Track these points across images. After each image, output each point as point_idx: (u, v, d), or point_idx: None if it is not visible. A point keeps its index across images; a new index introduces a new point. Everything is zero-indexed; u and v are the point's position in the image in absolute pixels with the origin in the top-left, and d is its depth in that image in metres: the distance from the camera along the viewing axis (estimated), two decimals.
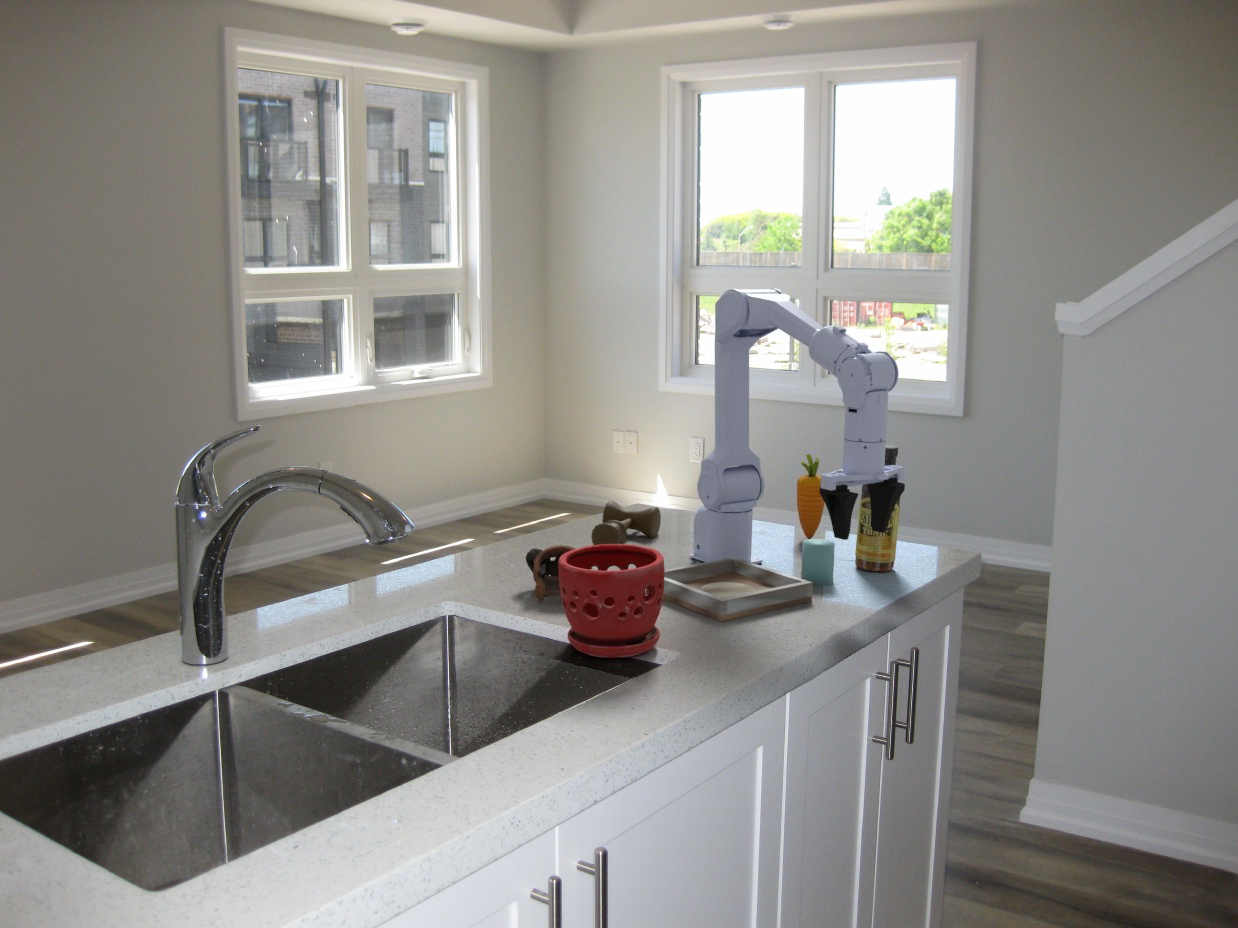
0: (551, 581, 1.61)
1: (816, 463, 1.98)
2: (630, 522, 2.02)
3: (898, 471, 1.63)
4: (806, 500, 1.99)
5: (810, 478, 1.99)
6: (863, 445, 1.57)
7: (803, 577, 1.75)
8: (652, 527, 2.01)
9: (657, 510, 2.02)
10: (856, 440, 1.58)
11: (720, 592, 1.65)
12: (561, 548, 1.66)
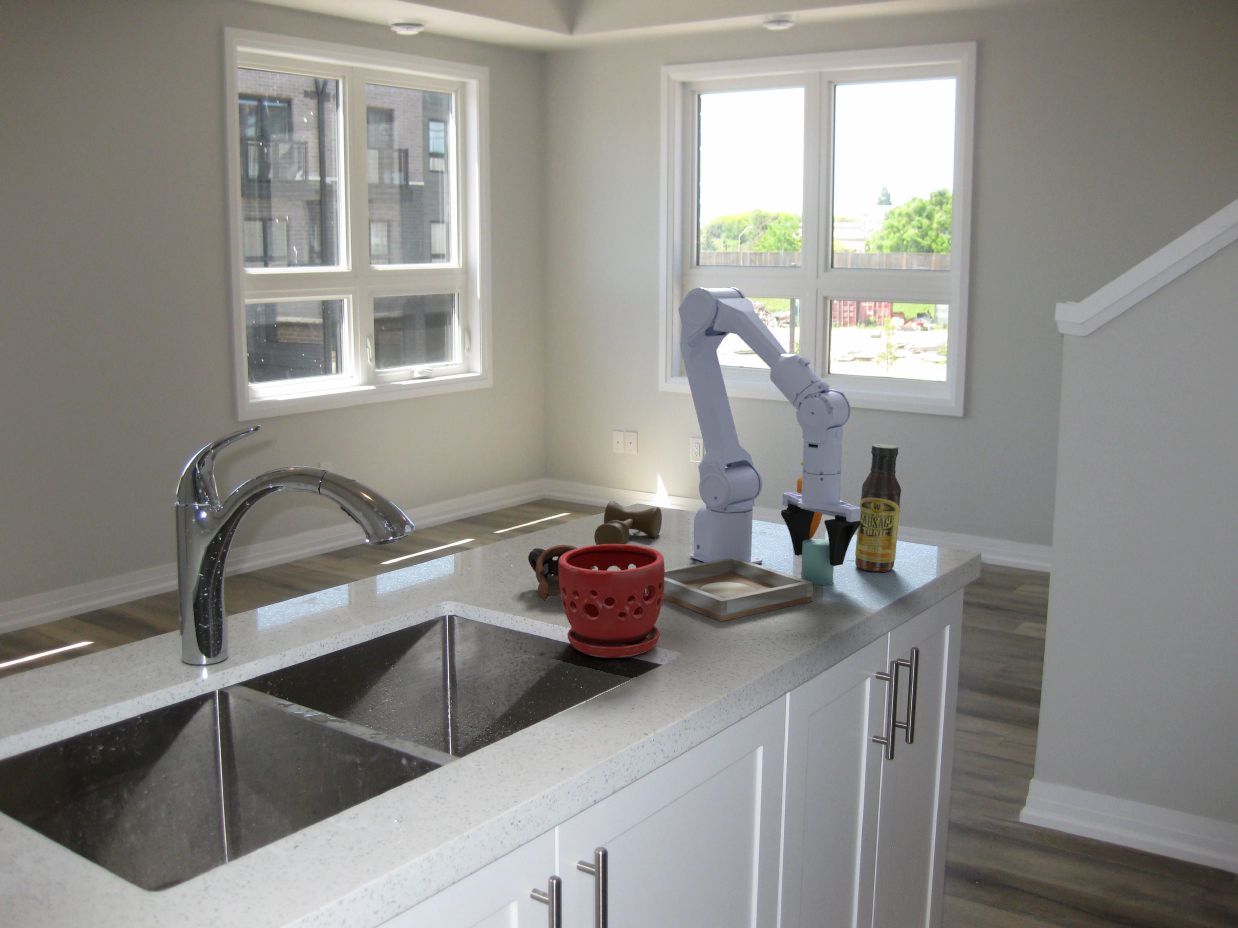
0: (554, 581, 1.62)
1: None
2: (632, 522, 2.01)
3: (844, 511, 1.68)
4: None
5: None
6: None
7: (803, 577, 1.75)
8: (654, 527, 2.01)
9: (658, 510, 2.02)
10: (817, 473, 1.70)
11: (720, 592, 1.65)
12: (564, 548, 1.66)
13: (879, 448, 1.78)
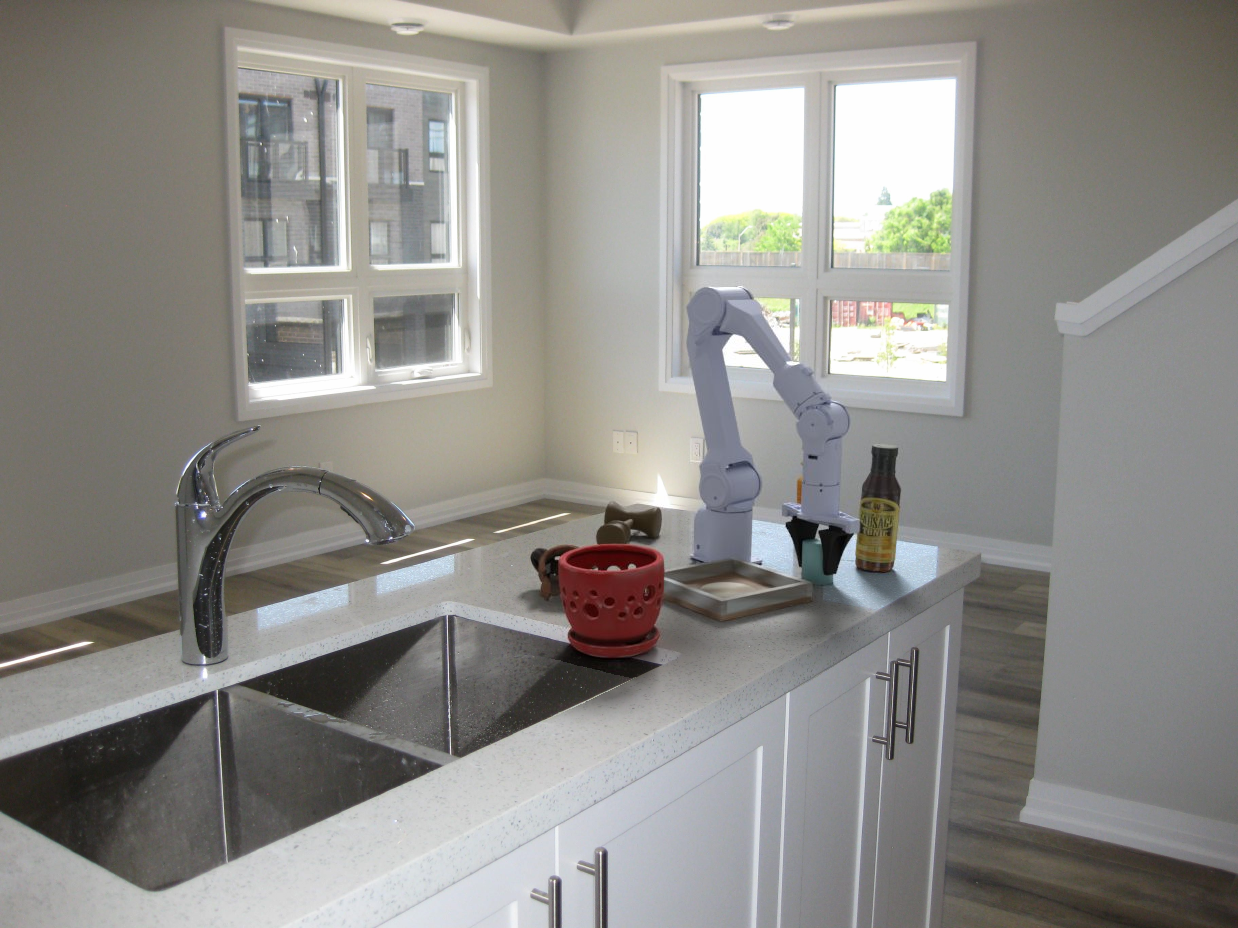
0: (557, 580, 1.62)
1: None
2: (632, 522, 2.01)
3: (843, 523, 1.69)
4: None
5: None
6: None
7: (803, 577, 1.75)
8: (654, 527, 2.01)
9: (659, 510, 2.02)
10: (817, 484, 1.71)
11: (720, 592, 1.65)
12: (566, 547, 1.66)
13: (879, 448, 1.78)
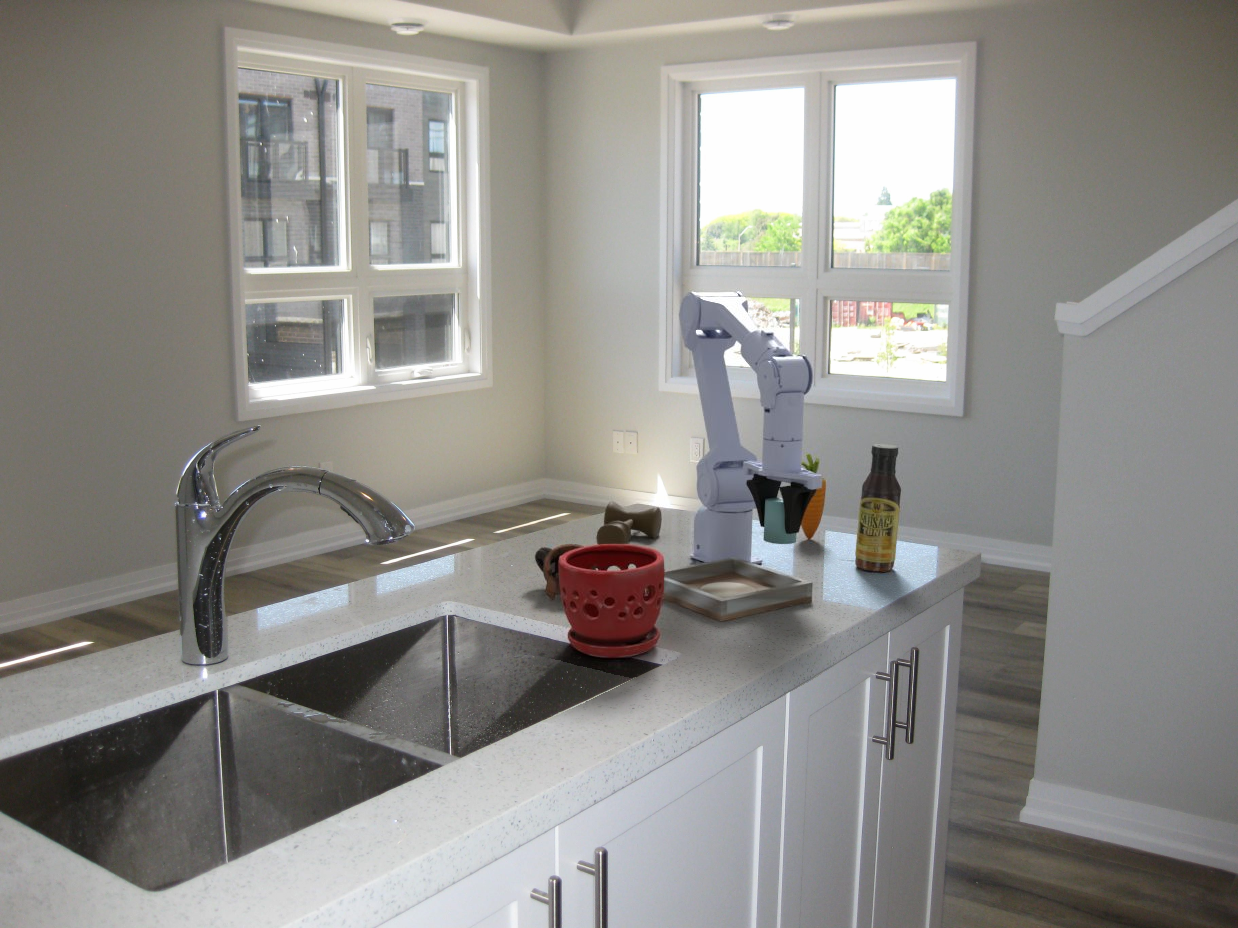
0: None
1: (816, 463, 1.98)
2: (632, 523, 2.01)
3: (805, 478, 1.63)
4: None
5: None
6: None
7: (765, 536, 1.70)
8: (654, 527, 2.00)
9: (659, 510, 2.02)
10: (769, 438, 1.66)
11: (720, 592, 1.65)
12: (571, 547, 1.67)
13: (879, 448, 1.78)
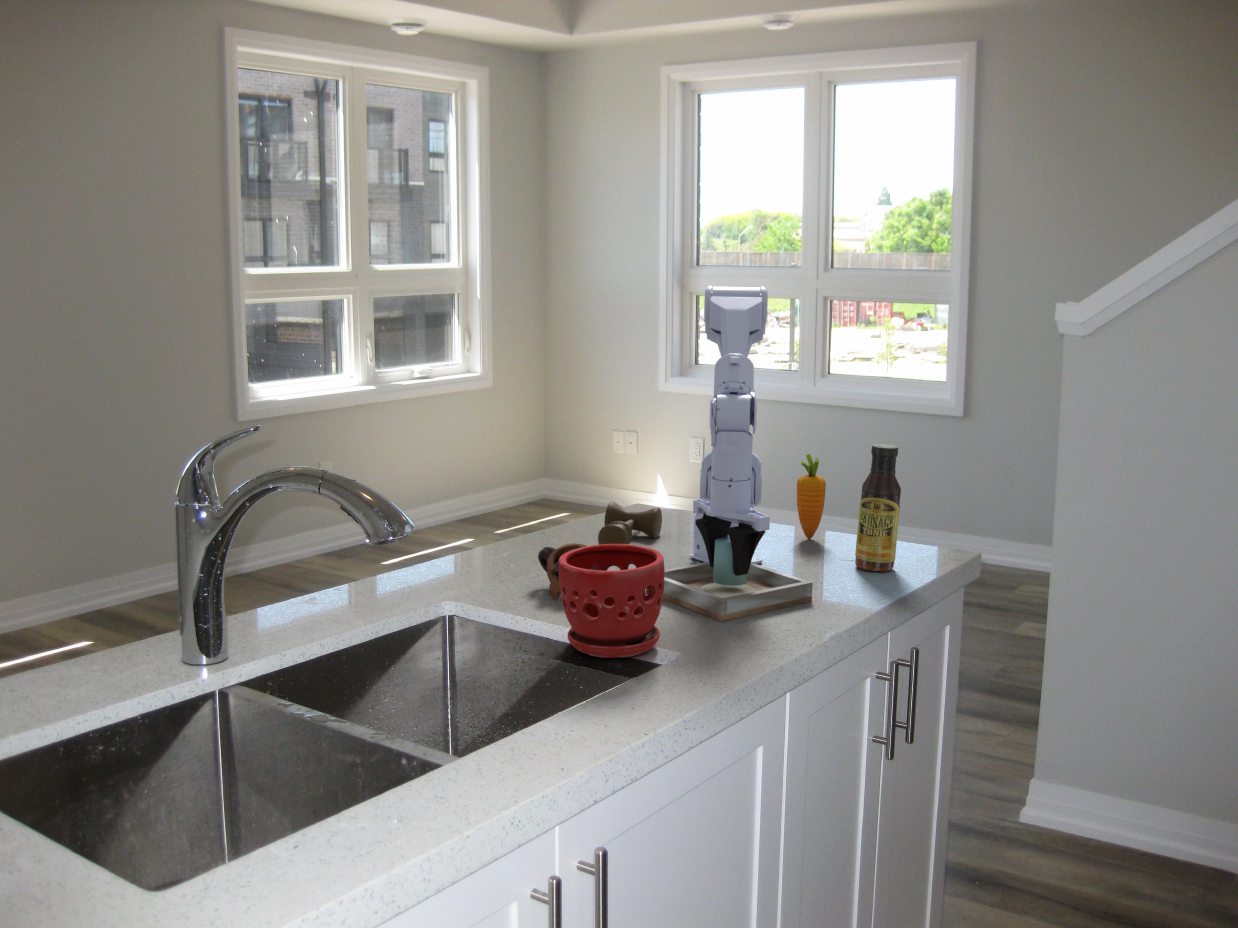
0: None
1: (816, 463, 1.98)
2: (633, 523, 2.01)
3: (752, 520, 1.59)
4: (806, 500, 1.99)
5: (810, 478, 1.99)
6: None
7: (714, 577, 1.66)
8: (655, 528, 2.00)
9: (659, 510, 2.02)
10: (712, 477, 1.63)
11: (720, 592, 1.65)
12: (574, 546, 1.67)
13: (879, 448, 1.78)
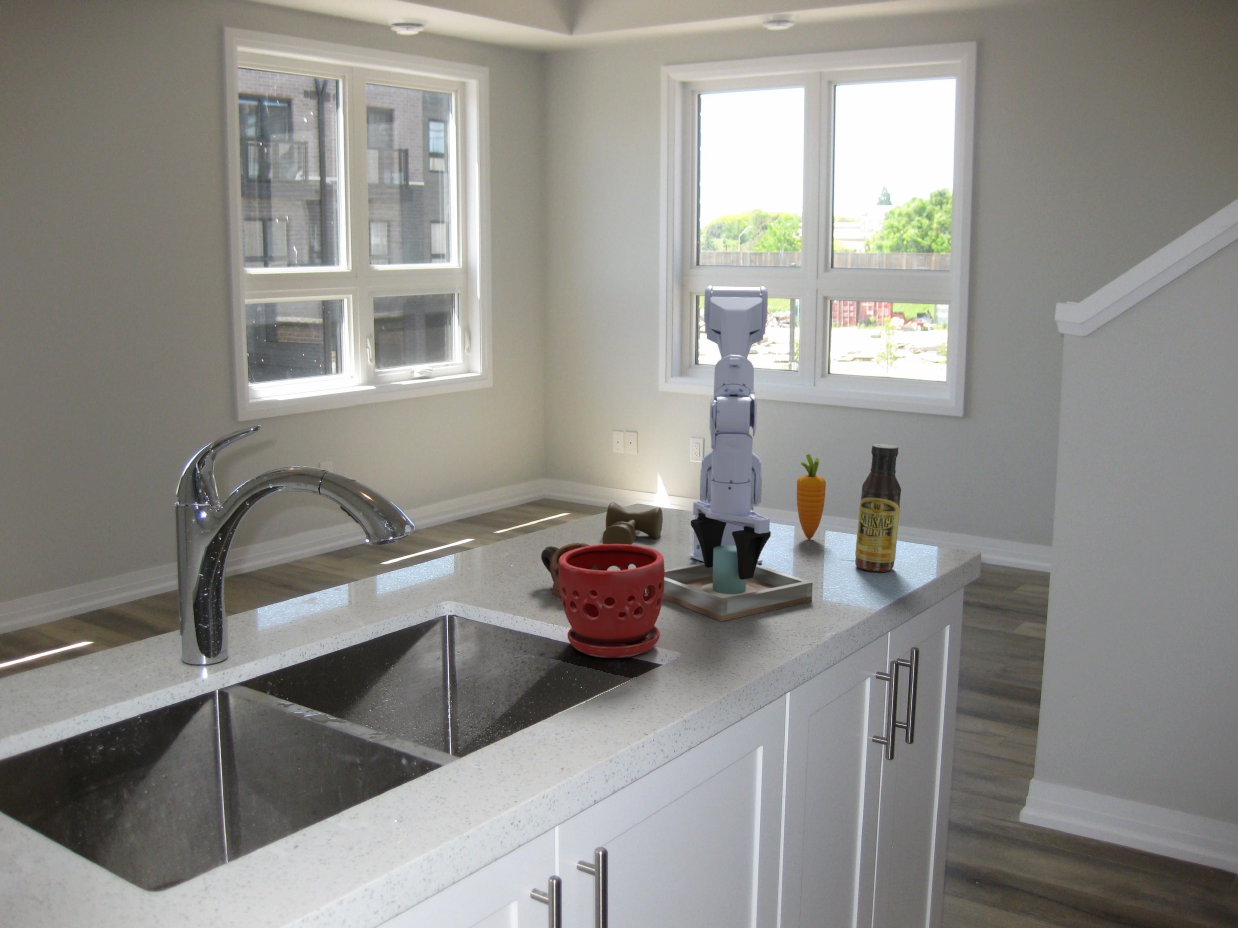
0: None
1: (816, 463, 1.98)
2: (634, 523, 2.01)
3: (752, 522, 1.60)
4: (806, 500, 1.99)
5: (810, 478, 1.99)
6: None
7: (714, 585, 1.66)
8: (657, 528, 2.00)
9: (660, 510, 2.02)
10: (712, 479, 1.63)
11: None
12: (577, 546, 1.67)
13: (879, 448, 1.78)
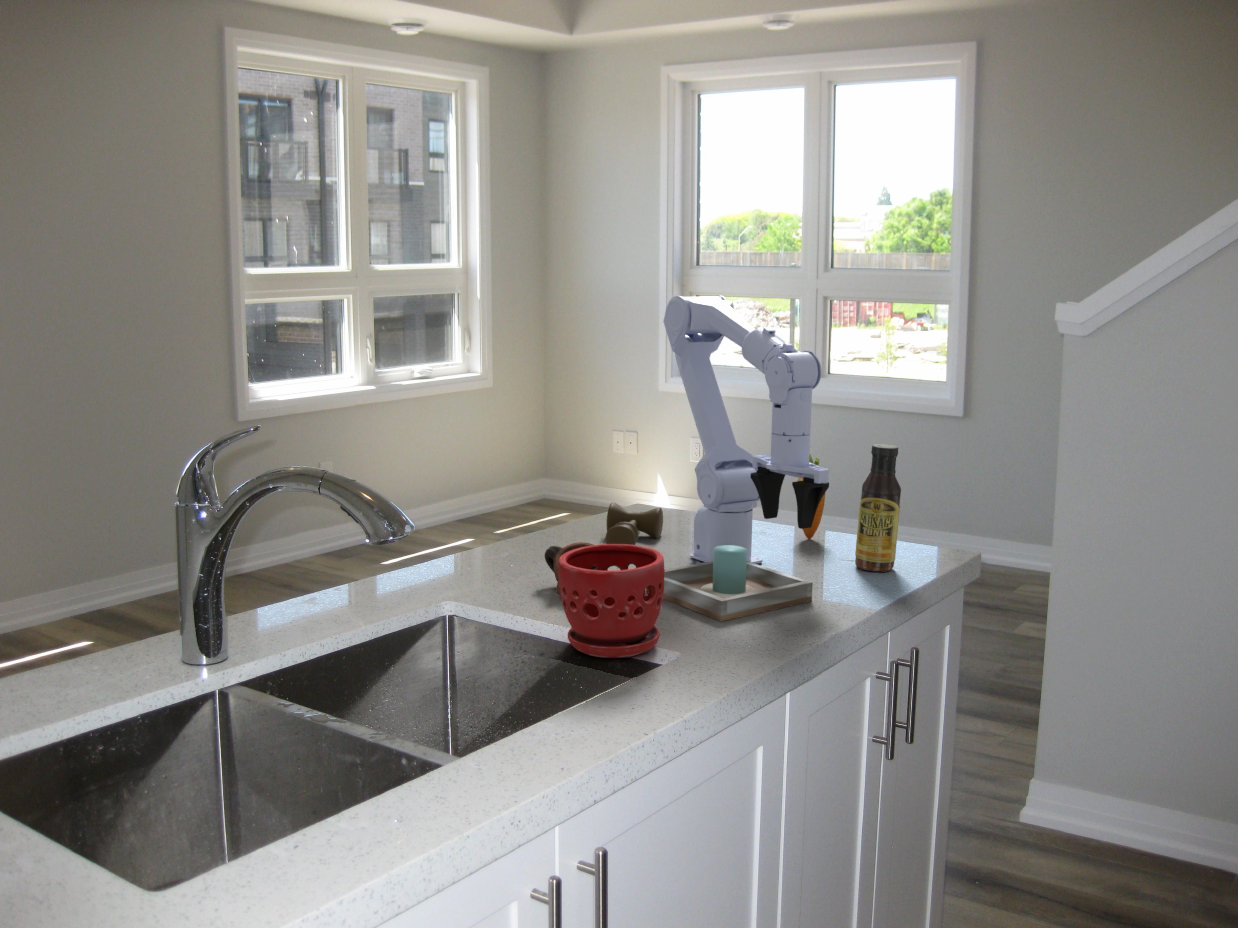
0: None
1: (816, 463, 1.98)
2: (636, 523, 2.00)
3: (812, 472, 1.66)
4: None
5: None
6: None
7: (714, 586, 1.66)
8: (658, 527, 2.00)
9: (661, 510, 2.02)
10: (780, 434, 1.68)
11: None
12: (581, 545, 1.68)
13: (879, 448, 1.78)
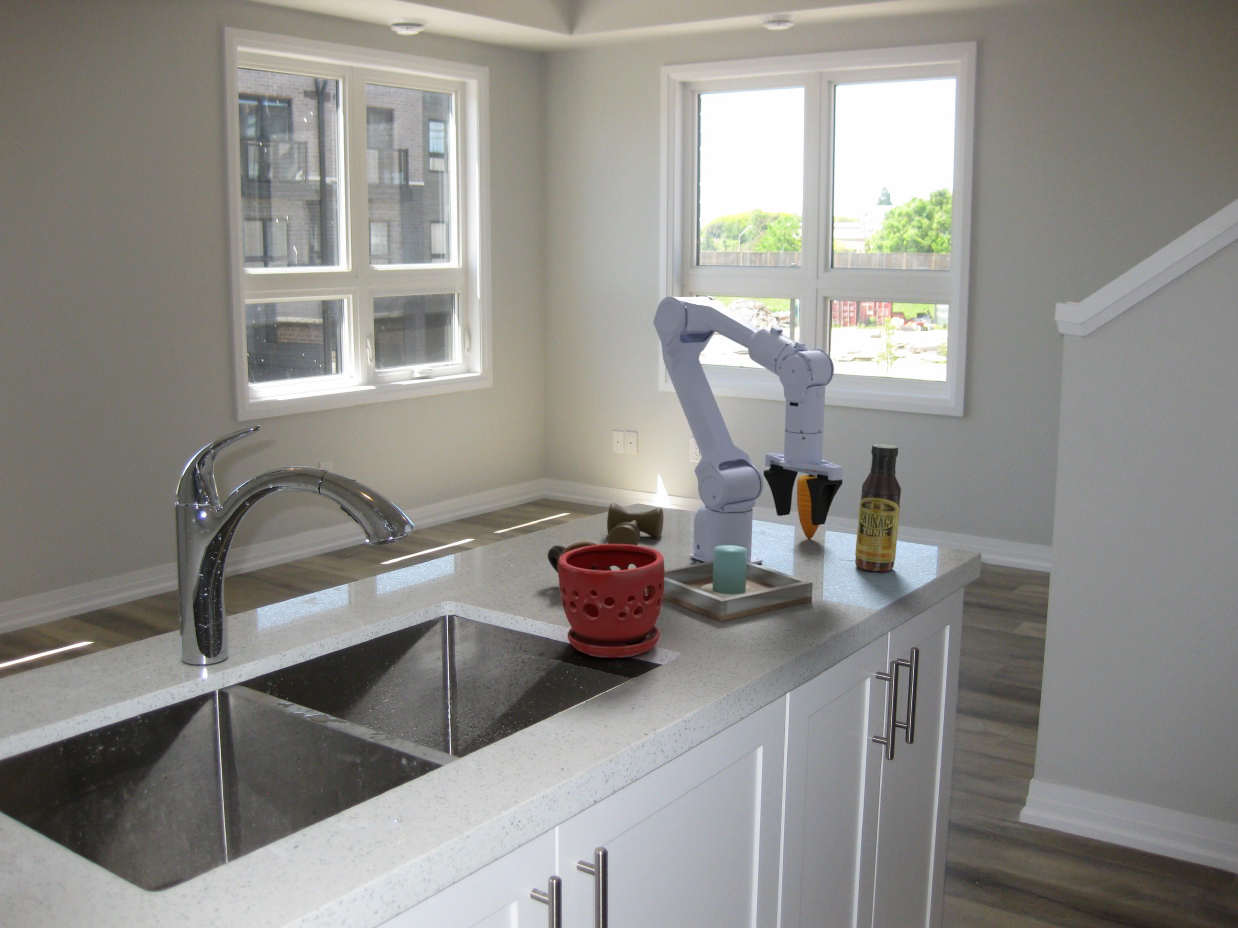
0: None
1: None
2: (636, 524, 2.00)
3: (826, 470, 1.68)
4: (806, 500, 1.99)
5: (810, 478, 1.99)
6: None
7: (714, 585, 1.66)
8: (659, 528, 2.00)
9: (662, 511, 2.02)
10: (798, 431, 1.70)
11: None
12: (584, 545, 1.68)
13: (879, 448, 1.78)
